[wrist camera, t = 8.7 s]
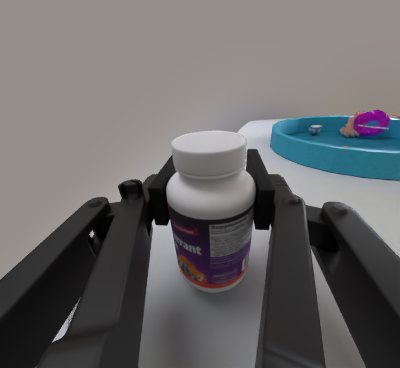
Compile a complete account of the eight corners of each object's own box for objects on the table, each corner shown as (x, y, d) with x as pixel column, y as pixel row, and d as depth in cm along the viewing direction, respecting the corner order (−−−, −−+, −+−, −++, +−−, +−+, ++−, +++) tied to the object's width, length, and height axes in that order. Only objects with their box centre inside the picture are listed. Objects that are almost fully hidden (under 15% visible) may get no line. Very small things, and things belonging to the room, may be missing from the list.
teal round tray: (454, 141, 37) (473, 110, 34) (477, 206, 20) (520, 154, 17) (300, 126, 57) (304, 106, 54) (243, 151, 39) (245, 123, 37)
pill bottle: (169, 250, 16) (146, 136, 11) (222, 228, 18) (223, 124, 13) (197, 312, 11) (179, 167, 7) (263, 273, 13) (287, 141, 9)
